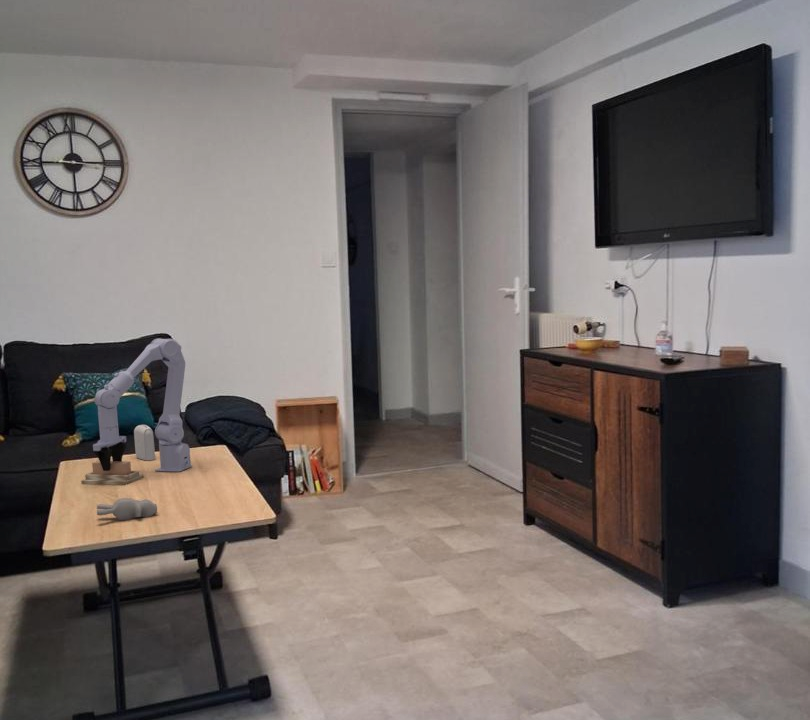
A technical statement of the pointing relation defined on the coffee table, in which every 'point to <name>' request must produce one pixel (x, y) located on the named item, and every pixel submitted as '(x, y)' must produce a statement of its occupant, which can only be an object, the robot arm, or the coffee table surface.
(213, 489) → the coffee table surface
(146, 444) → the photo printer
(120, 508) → the bunny figurine
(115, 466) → the clay strip
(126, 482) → the framed rectangular tray
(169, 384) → the robot arm
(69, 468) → the coffee table surface
